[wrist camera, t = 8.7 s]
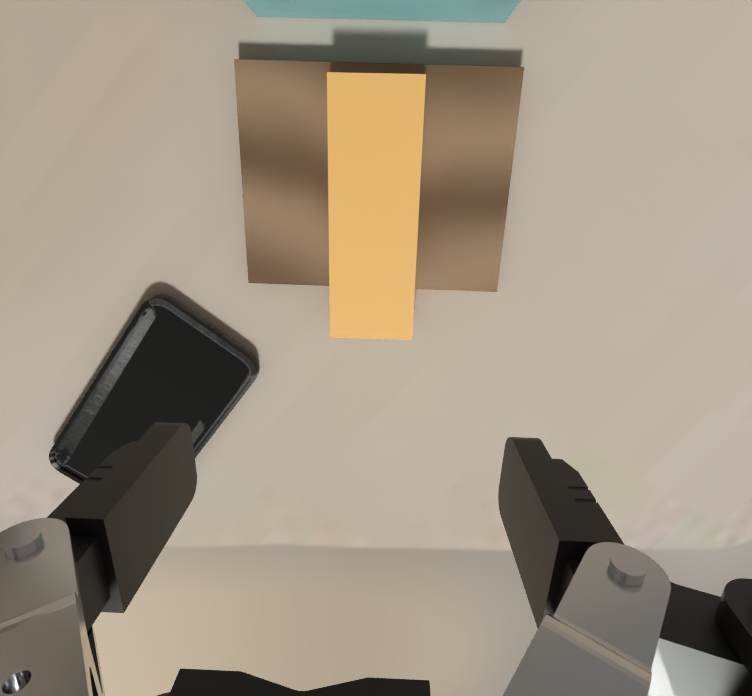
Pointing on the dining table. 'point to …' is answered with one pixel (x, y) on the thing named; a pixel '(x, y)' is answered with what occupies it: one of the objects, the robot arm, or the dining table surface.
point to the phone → (156, 386)
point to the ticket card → (373, 201)
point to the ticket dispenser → (388, 9)
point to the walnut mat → (438, 169)
